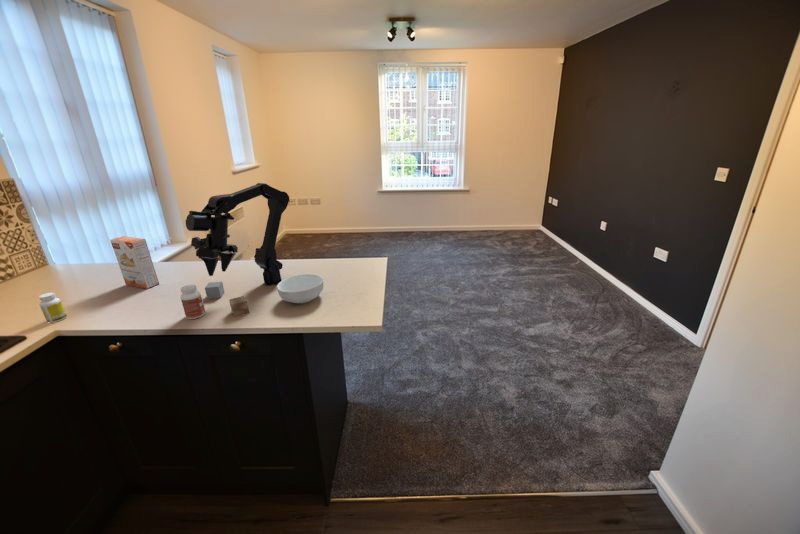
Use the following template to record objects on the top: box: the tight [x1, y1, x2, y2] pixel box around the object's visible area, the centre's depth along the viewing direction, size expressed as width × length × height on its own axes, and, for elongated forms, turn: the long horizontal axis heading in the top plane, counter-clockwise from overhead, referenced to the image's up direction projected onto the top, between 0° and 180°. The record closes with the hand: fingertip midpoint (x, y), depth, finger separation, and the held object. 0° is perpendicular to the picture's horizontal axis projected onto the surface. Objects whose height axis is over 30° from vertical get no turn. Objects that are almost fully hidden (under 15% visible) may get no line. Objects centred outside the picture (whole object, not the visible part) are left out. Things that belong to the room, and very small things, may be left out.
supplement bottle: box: [38, 292, 68, 323], centre depth 125 cm, size 5×5×10 cm
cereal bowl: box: [276, 273, 324, 304], centre depth 135 cm, size 17×17×7 cm
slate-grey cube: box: [204, 281, 225, 300], centre depth 140 cm, size 5×5×5 cm
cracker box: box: [109, 235, 160, 290], centre depth 150 cm, size 14×6×21 cm, turn 68°
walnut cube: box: [228, 295, 250, 318], centre depth 126 cm, size 5×5×5 cm
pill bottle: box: [180, 284, 206, 320], centre depth 124 cm, size 6×6×11 cm
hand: (217, 273), depth 131 cm, fingers open, 9 cm apart
